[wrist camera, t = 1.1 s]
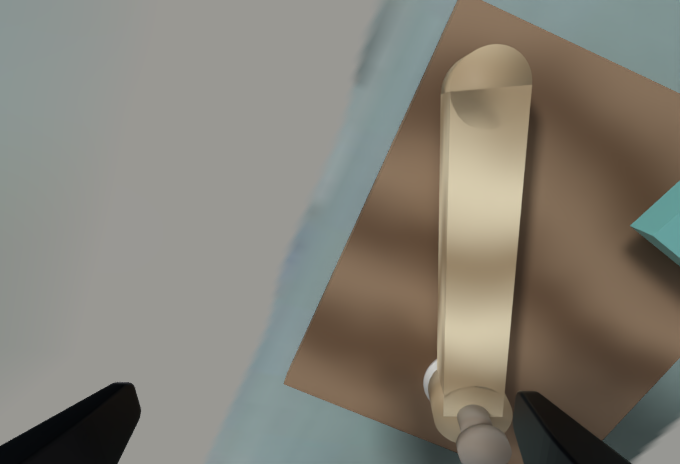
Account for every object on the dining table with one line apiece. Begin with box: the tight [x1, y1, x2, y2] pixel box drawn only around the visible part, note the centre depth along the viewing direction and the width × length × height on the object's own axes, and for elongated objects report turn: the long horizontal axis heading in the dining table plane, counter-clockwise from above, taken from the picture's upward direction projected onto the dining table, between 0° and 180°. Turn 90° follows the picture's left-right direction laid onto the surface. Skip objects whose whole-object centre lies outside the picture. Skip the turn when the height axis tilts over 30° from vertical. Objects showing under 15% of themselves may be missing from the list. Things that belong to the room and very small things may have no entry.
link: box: [428, 44, 532, 464], centre depth 16 cm, size 20×4×4 cm, turn 4°
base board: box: [284, 0, 680, 464], centre depth 19 cm, size 22×19×1 cm
